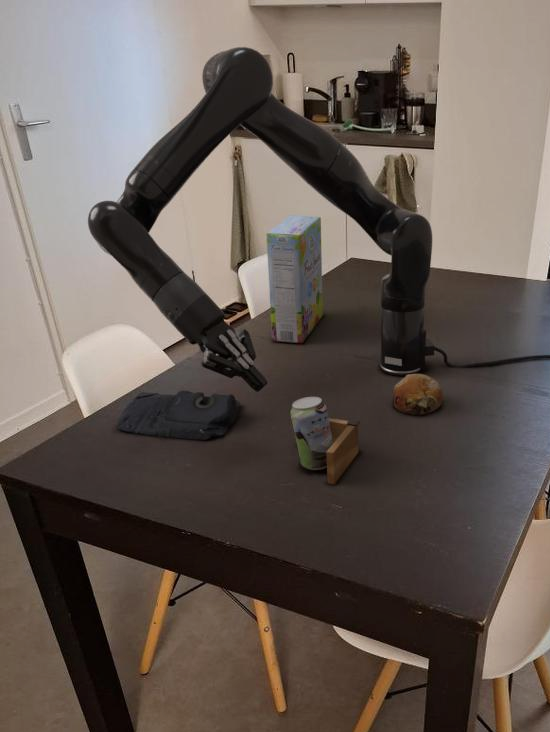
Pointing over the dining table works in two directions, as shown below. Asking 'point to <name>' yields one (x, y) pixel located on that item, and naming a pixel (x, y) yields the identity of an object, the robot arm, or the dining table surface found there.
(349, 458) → the shelf corner
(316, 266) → the snack box
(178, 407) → the grommeted fabric pouch
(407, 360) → the robot arm
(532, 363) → the dining table surface
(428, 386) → the bread roll
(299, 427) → the beverage can
